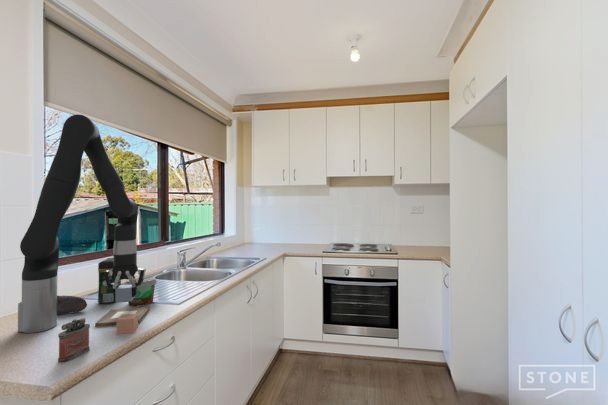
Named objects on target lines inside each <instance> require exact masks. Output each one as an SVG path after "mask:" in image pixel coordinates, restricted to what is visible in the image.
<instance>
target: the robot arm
mask: <svg viewBox="0 0 608 405" xmlns="http://www.w3.org/2000/svg"><path fill="white" fill-rule="evenodd" d="M57 147H58V148H57V150H56V151H55V155H54V158H53V159H52V162H51V164H50V167H49V170H48V173H47V175H46V177H45V179H44V183H43V184H42V188H41V191H40V194H39V198H38V201H37V206H36V209H35V212H34V216H33V217H32V220H31V223H30V224H29V226H28V228H27V231H26V232H25V234H24V236H23V237H22V239H21V241H20V245H19V249H20V252H21V254H22V255H23V256H24V261H23V262H24V263H23V268H22V272H21V301H20V302H19V303H18V304H17V333H24V334H33V333H39V332H44V331H47V330H50V329H53V328H54V327H56V326H57V325H58V314H57V296H58V270H59V263H60V262H59V261H60V240H59V237H58V233H59V231H60V230H59V229H60V226H61V223H62V220H63V218H64V216H65V215H66V213H67V211H68V210H69V208H70V206H71V205H72V203H73V201H74V199H75V196H76V194H77V191H78V189H79V185H80V182H81V178H82V177H81V176H82V159H83V155H84V153H85V154H86V156H87V158H88V160H89V162H90V164H91V168H92V170H93V173H94V175H95V179H96V180H97V181H98V182H97V183H98V184H99V186H100V187H101V189H102V191H103V192H104V194H105V198H106V201H107V204H108V206H109V208H110V211H111V213H113V215H114V216H116V218H117V224H116V225H115V226H114V230H113V231H114V233H113V234H114V236H113V237H114V238H113V239H114V241H113V250H112V252H113V257H112V258H113V265H114V267H113V269H112V270H107V271H105V272H104V276H105V280H106V283H107V287H112V288H113V296H114V297H115V299H116V292H115V289H116V288H117V287H118V286H119V283H120V281H121V282H122V280H128V282H130V283H131V285H132V297H135V296H136V295H137V286H139V285H141V284H142V283H143V281H144V279H145V278H144V277H145V275H146V270H147V269H146V268H139V267H138V265H137V264H138V262H137V260H138V258H137V257H138V256H137V255H138V253H137V251H138V250H137V249H138V248H137V245H138V244H137V229H136V227H137V221H138V214H139V213H138V212H139V208H138V204H137V203H136V202H135V200H133V199H131V198H129V196H128V195H127V193H126V191H125V190H126V186H125V183H124V182H123V180H122V178H121V176H120V174H119V173H118V171H117V169H116V168H115V166H114V164H113V162H112V160H111V159H110V157H109V155H108V153H107V151H106V148H105V146H104V143H103V141H102V137H101V134H100V131H99V127H98V126H97V124H96V123H94V122H93V121H92V119H91V118H90V117H88V116H86V115H83V114H73V115H71V116H69V117H68V118H67V119H65V121H64V123H63V126H62V130H61V133H60V139H59V144H58V146H57ZM112 273H114V275H115V276H116V279H115V281H114V283H113V281H112V277H111V275H112ZM136 273H137V274H138V275H139V276H138V280H137V278H136ZM137 281H138V282H137Z"/></svg>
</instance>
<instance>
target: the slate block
mask: <svg viewBox="0 0 608 405" xmlns="http://www.w3.org/2000/svg"><path fill="white" fill-rule="evenodd" d="M115 292H116V302H115V303H126V302H129V301H132V300H133V299H134V298H135V297H132V285H125V284H121V285H120V286H119V287H117V288H116V289H115Z"/></svg>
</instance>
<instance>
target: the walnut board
mask: <svg viewBox="0 0 608 405" xmlns="http://www.w3.org/2000/svg"><path fill="white" fill-rule="evenodd" d="M150 308H151V307H150V306H147V307H146V306H145V307H132V308H131V307H130V308H117V309H116V308H115V309H109V311H107V313H105V314H104V315H103V316H102V317H100V318H99V319H98V320H97V321H96V322H95V323H94V327H95V328H98V327H99V328H100V327H111V326H117V319H118V318H119V317H120V316H121V315H122V314H136V313H138V325H139V324H140V323H141V322H142V321H143V320H144V318H145V317H146V316H147V314H148V313H149V312H150V310H151V309H150ZM142 319H143V320H142Z"/></svg>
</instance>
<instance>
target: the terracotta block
mask: <svg viewBox="0 0 608 405" xmlns="http://www.w3.org/2000/svg"><path fill="white" fill-rule="evenodd" d="M138 328H139V324H138V313H136V314H122V315H121V316H120V317H119V318H118V319H117V325H116V336H119V335H120V336H121V335H131V334H134V333H135V332H136V331H137V330H138Z"/></svg>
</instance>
